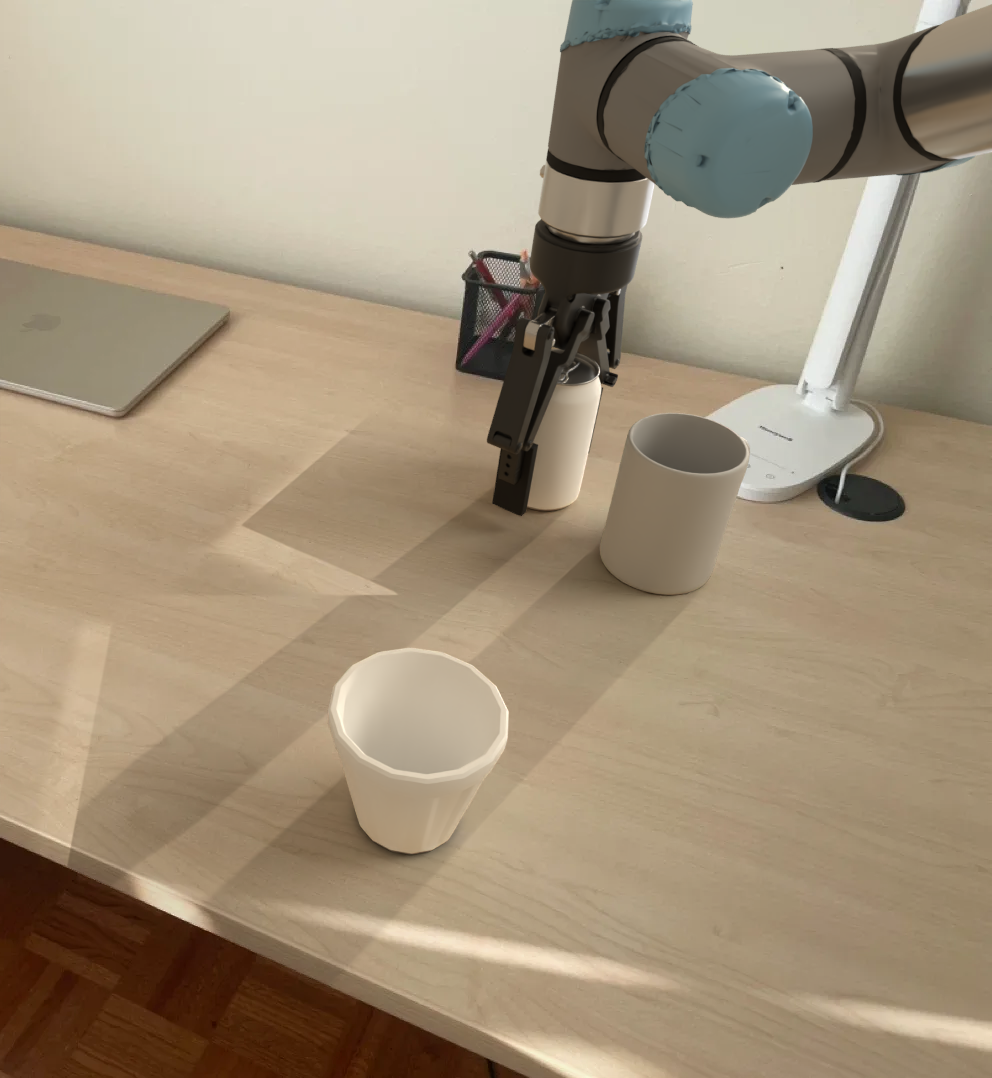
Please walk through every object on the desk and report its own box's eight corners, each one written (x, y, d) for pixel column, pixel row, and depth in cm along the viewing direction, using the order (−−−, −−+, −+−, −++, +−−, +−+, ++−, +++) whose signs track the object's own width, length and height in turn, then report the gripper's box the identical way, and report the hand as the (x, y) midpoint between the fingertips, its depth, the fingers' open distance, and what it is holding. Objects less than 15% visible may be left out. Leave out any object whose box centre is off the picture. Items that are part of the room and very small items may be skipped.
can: (488, 496, 89) (507, 371, 82) (520, 460, 94) (541, 338, 86) (560, 522, 87) (587, 395, 79) (590, 484, 91) (618, 360, 83)
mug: (659, 611, 78) (695, 490, 71) (575, 550, 84) (601, 432, 77) (764, 555, 83) (808, 437, 76) (678, 501, 89) (712, 387, 82)
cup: (502, 886, 60) (525, 782, 54) (326, 885, 60) (331, 781, 54) (476, 749, 68) (494, 645, 62) (321, 749, 68) (325, 645, 62)
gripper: (612, 168, 84) (566, 407, 98) (458, 262, 71) (430, 524, 84) (704, 190, 80) (642, 435, 94) (560, 293, 67) (513, 562, 80)
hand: (542, 477), depth 89 cm, fingers open, 10 cm apart
